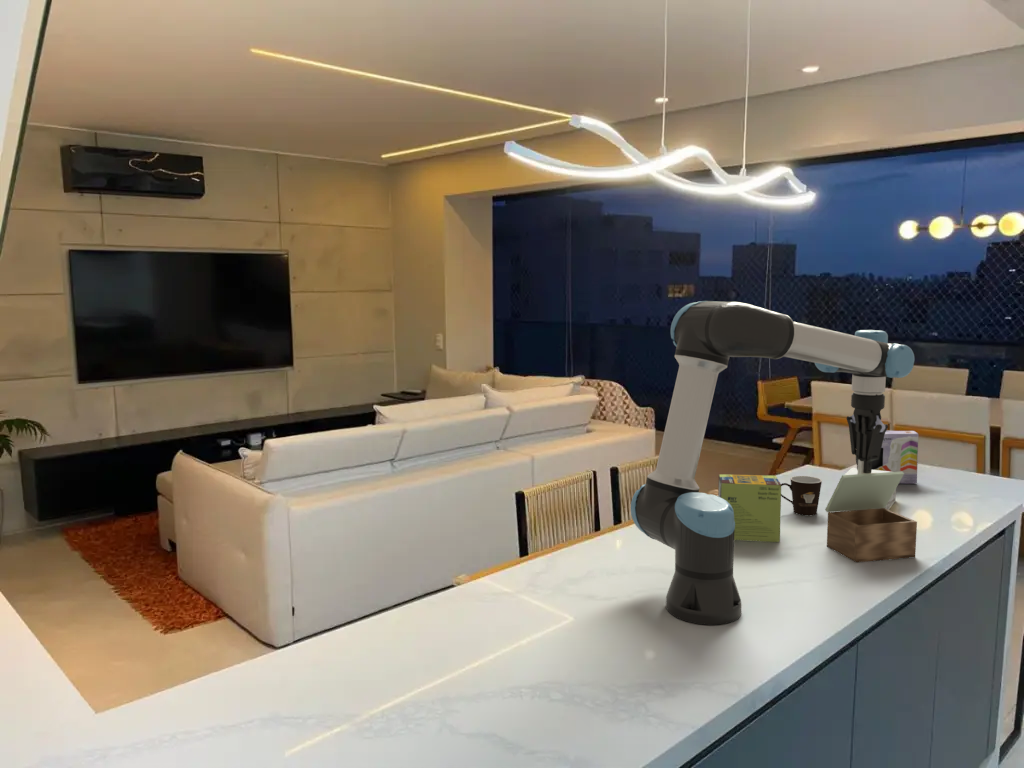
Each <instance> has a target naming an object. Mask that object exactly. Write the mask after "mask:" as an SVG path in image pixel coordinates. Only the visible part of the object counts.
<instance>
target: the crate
mask: <svg viewBox="0 0 1024 768" xmlns="http://www.w3.org/2000/svg"><path fill="white" fill-rule="evenodd" d="M917 526H918V521H916V520H914V519H911V518H909V517H907V516H904V515H902V514H900V513H897V512H894V511H893V510H890V509H889V510H888V509H885V508H878V509H865V510H847V511H834V512H827V529H826V530H827V532H826V547H827V548H828V549H831V550H832V549H833V551H834V550H835V551H834V552H836V553H838V554H840V555H841V554H842V555H841V556H843V557H845V558H847V559H848V560H851V561H852V562H854V563H855V564H857V563H867V562H868V563H869V562H879V561H880V560H881V561H889V559H892V560H900V559H899V558H903V559H910V558H909V557H914V558H916V550H917V549H916V548H917V531H918V530H917Z"/></svg>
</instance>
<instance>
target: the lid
mask: <svg viewBox="0 0 1024 768" xmlns="http://www.w3.org/2000/svg"><path fill="white" fill-rule="evenodd" d="M903 475H904V473H903V472H902V471H901V472H886V473H868V474H856V475H845V474H844V475H843V474H842V475H841V477H840V478H839V481H838V483H837V485H836V487H835V489H834V491H833V493H832V496H831V497H830V500H829V501H828V503H827V505H826V507H825V512H826V513H828V512H838V511H852V510H861V509H874V508H885V507H886V505H887V503H888V501H889V500H890V498H891V496H892V494H893V493H894V491H895V489H896V490H897V488H898V486H899V484H900V483H899V482H900V480H901V478H902V477H903Z"/></svg>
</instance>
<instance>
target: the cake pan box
mask: <svg viewBox="0 0 1024 768" xmlns="http://www.w3.org/2000/svg"><path fill="white" fill-rule="evenodd" d="M918 458H919V433H918V432H916V431H915V430H887V431H886V432H885V435H884V439H883V443H882V447H881V451H880V455H879V459H877V460H873V461H872V470H881V471H890V472H901V471H902V472H903V473H904V475H903V477H902V478H901V480H900V482H899V484H918V465H919V464H918V462H919V461H918V460H919V459H918ZM855 461H856V463H855V464H856V465H857V458H856V457H855Z"/></svg>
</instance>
